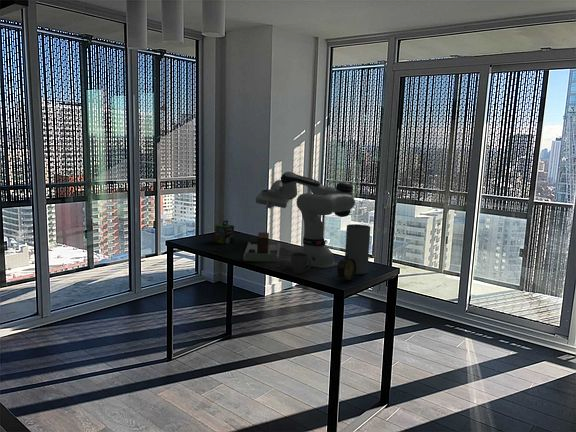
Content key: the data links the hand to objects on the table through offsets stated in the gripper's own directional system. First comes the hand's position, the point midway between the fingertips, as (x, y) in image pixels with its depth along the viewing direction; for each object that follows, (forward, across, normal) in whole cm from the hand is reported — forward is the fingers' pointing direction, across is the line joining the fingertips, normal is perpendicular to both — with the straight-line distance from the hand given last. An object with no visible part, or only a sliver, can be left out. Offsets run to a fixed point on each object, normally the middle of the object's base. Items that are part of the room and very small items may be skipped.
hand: (268, 207), depth 306 cm
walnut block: (+33, -5, -11) cm, 35 cm away
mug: (+55, -32, 0) cm, 64 cm away
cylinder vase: (+44, -60, -1) cm, 75 cm away
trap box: (+26, -4, -17) cm, 31 cm away
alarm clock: (+62, -56, +6) cm, 83 cm away
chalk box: (+7, +27, -29) cm, 41 cm away
